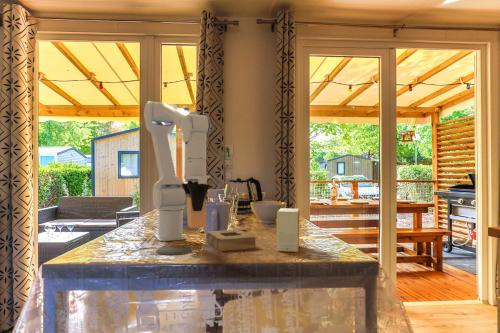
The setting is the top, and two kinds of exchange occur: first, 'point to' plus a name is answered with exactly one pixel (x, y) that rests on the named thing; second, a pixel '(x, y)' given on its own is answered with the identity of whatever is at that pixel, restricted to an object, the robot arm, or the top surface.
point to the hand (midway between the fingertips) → (195, 209)
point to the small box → (288, 229)
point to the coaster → (174, 250)
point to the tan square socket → (230, 240)
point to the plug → (195, 214)
